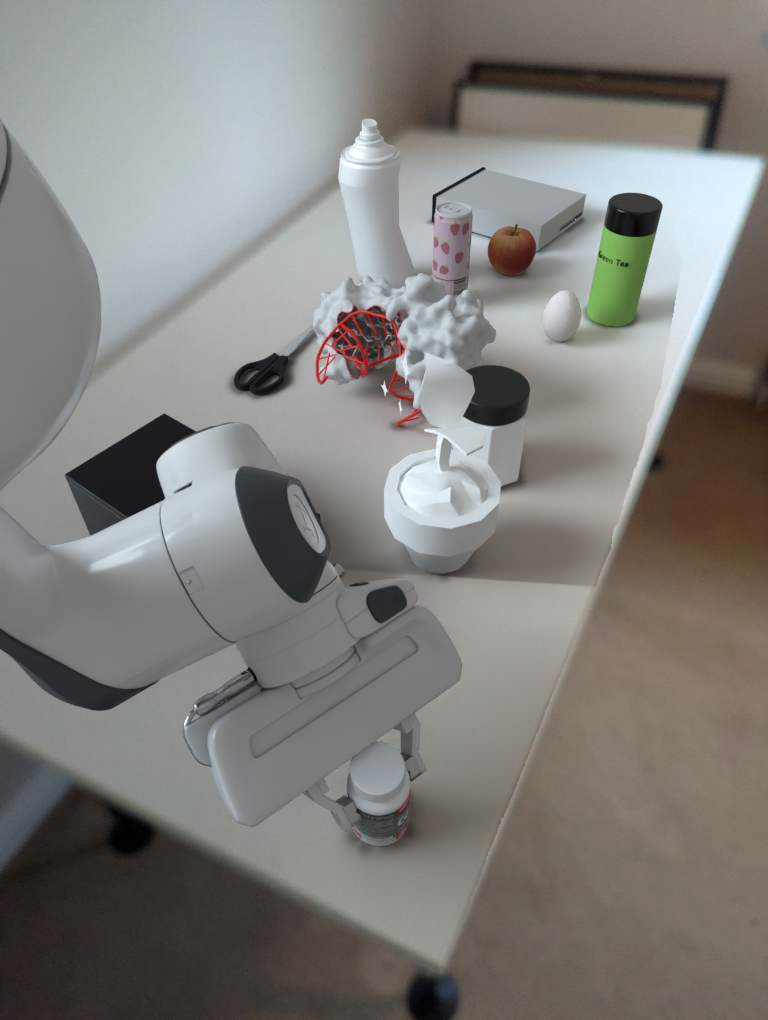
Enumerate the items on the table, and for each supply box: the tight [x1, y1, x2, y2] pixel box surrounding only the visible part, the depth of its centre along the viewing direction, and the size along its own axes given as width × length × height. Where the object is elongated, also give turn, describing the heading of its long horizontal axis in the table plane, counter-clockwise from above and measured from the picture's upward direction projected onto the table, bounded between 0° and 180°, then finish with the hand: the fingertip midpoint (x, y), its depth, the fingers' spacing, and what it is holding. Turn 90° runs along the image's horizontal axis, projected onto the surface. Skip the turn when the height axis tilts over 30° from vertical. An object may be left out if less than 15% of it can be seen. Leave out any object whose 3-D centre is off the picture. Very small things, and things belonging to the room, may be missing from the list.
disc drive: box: [431, 166, 587, 252], centre depth 137 cm, size 18×22×5 cm
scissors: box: [233, 324, 315, 395], centre depth 106 cm, size 7×1×20 cm
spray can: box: [337, 118, 417, 289], centre depth 112 cm, size 12×11×25 cm
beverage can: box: [431, 202, 473, 296], centre depth 111 cm, size 6×6×15 cm
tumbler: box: [586, 192, 664, 328], centre depth 107 cm, size 8×8×17 cm
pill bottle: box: [346, 741, 412, 847], centre depth 55 cm, size 5×5×8 cm
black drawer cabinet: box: [64, 412, 197, 536], centre depth 77 cm, size 15×13×10 cm
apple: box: [487, 224, 537, 276], centre depth 121 cm, size 8×8×8 cm
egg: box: [542, 289, 582, 342], centre depth 106 cm, size 5×5×8 cm
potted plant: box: [380, 349, 502, 575], centre depth 69 cm, size 13×12×25 cm
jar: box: [451, 364, 531, 487], centre depth 84 cm, size 9×8×12 cm
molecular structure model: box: [312, 272, 497, 427], centre depth 93 cm, size 20×18×25 cm
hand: (384, 798), depth 55 cm, fingers closed on pill bottle, 5 cm apart
